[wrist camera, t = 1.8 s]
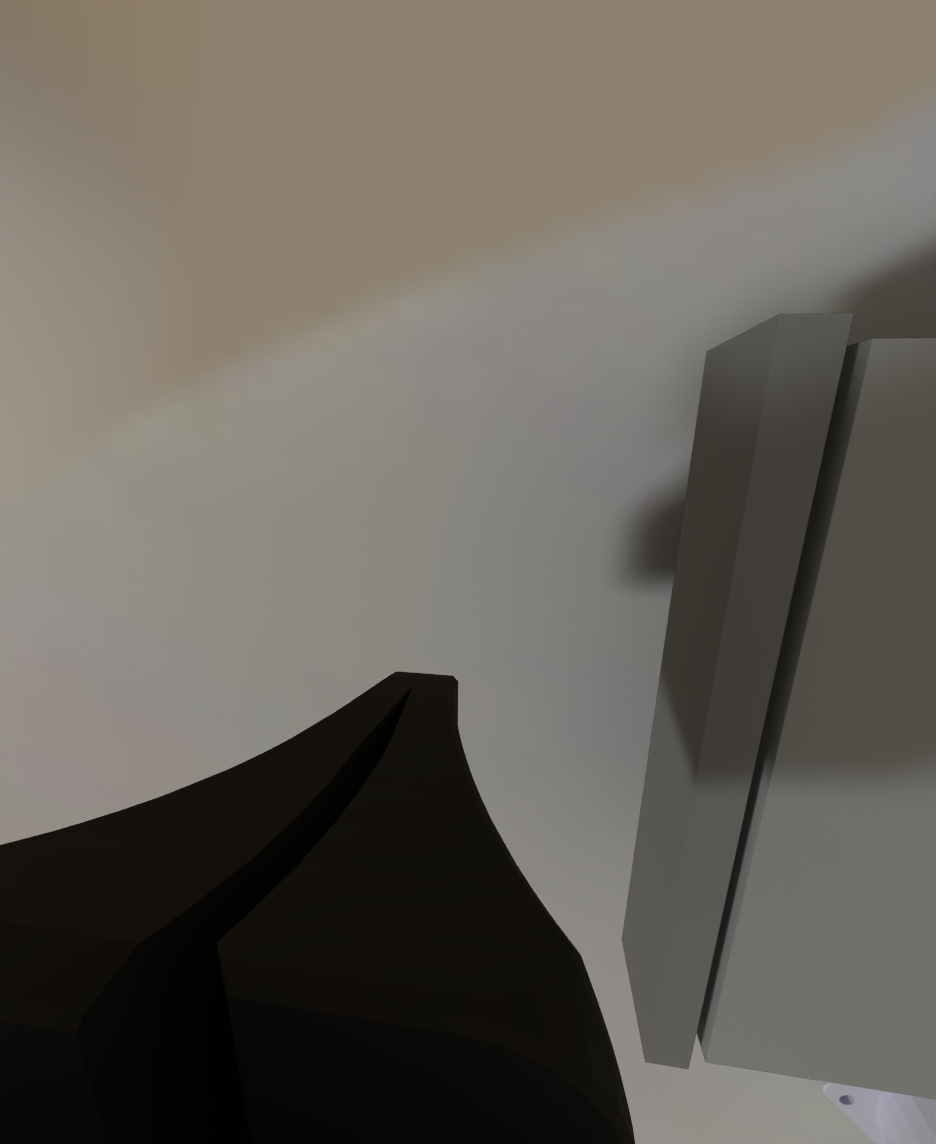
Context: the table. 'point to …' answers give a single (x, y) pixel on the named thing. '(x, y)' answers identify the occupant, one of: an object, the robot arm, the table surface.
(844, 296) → the table surface
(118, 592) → the table surface
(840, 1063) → the lid
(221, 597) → the table surface
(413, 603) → the table surface
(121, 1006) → the robot arm
